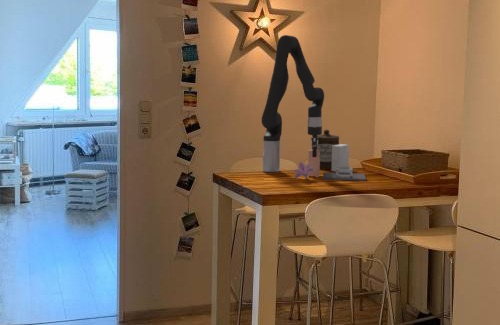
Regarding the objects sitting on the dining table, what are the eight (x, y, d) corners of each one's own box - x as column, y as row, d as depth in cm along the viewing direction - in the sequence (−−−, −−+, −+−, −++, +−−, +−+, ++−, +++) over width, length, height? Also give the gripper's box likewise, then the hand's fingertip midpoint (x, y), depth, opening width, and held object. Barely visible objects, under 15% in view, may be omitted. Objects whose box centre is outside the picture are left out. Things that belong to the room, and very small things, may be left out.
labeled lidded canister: (312, 168, 354) (313, 130, 351) (314, 164, 369) (314, 128, 365) (338, 169, 352) (339, 131, 349) (339, 165, 366) (339, 128, 363)
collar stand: (322, 179, 319) (323, 170, 318) (323, 174, 335) (323, 165, 334) (366, 180, 316) (366, 171, 316) (364, 175, 332) (364, 166, 331)
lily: (319, 181, 322) (314, 164, 325) (316, 175, 311) (311, 158, 313) (297, 187, 323) (292, 170, 326) (293, 182, 312) (288, 164, 315)
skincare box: (341, 169, 351) (341, 143, 349) (349, 171, 347) (349, 144, 345) (330, 171, 346) (331, 144, 344) (338, 172, 342) (339, 145, 339)
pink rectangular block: (307, 176, 328) (308, 150, 326) (308, 175, 332) (308, 149, 330) (319, 177, 327) (320, 150, 325) (319, 175, 331) (320, 149, 329)
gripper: (308, 124, 333) (308, 154, 336) (307, 126, 319) (307, 157, 322) (322, 124, 332) (322, 154, 335) (321, 126, 318) (321, 157, 321)
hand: (314, 156), depth 328 cm, fingers open, 8 cm apart
